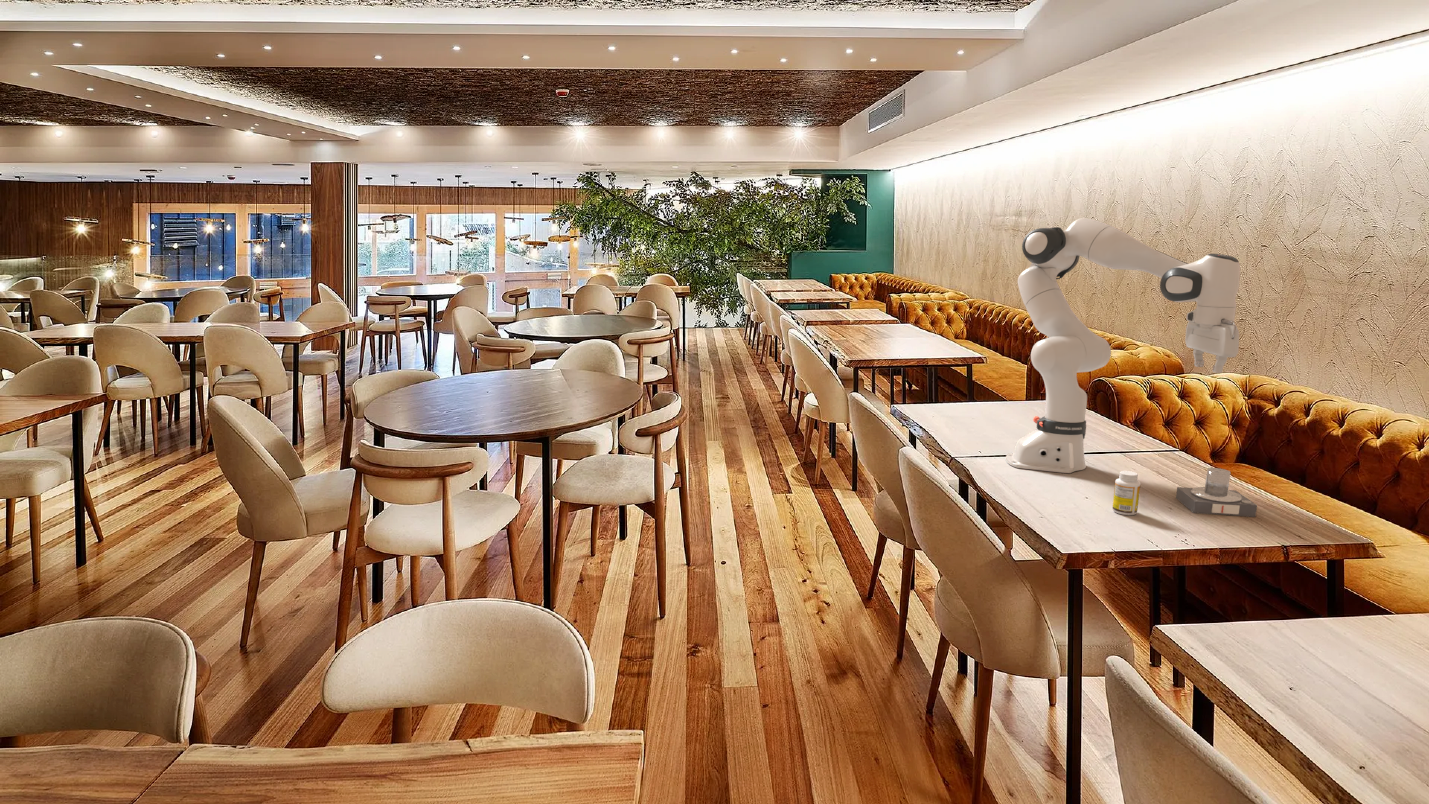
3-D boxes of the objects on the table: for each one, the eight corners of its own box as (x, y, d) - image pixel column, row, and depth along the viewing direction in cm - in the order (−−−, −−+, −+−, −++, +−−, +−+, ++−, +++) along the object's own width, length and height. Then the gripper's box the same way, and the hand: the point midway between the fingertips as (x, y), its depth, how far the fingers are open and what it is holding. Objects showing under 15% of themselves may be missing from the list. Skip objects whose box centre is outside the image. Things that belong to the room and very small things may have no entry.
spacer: (1211, 496, 203) (1215, 473, 202) (1200, 490, 208) (1203, 467, 207) (1231, 496, 203) (1235, 473, 202) (1219, 490, 208) (1222, 468, 207)
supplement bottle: (1126, 508, 205) (1131, 469, 203) (1141, 515, 200) (1146, 475, 198) (1107, 509, 204) (1111, 470, 202) (1121, 516, 199) (1126, 476, 197)
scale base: (1194, 513, 201) (1196, 501, 201) (1175, 497, 214) (1177, 485, 213) (1256, 517, 199) (1258, 504, 198) (1234, 501, 211) (1235, 489, 210)
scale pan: (1201, 501, 202) (1201, 498, 201) (1184, 487, 212) (1184, 485, 212) (1249, 504, 200) (1249, 501, 200) (1230, 490, 210) (1230, 488, 210)
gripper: (1249, 321, 201) (1242, 376, 204) (1207, 313, 221) (1200, 363, 224) (1223, 321, 202) (1215, 375, 204) (1183, 313, 221) (1177, 363, 224)
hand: (1207, 369), depth 214 cm, fingers open, 8 cm apart
